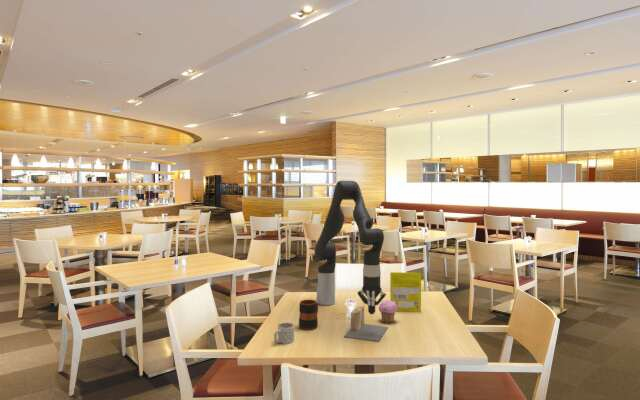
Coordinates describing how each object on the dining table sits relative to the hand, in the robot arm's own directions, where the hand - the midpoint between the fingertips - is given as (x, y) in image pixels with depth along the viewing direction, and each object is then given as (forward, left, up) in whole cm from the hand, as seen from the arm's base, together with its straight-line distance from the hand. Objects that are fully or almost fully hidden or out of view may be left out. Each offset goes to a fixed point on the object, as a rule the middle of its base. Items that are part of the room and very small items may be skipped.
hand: (371, 313), depth 188 cm
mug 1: (-32, -23, -9) cm, 40 cm away
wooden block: (-8, -1, -4) cm, 9 cm away
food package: (+8, +36, -9) cm, 38 cm away
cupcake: (+3, +18, -9) cm, 20 cm away
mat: (-2, 0, -9) cm, 9 cm away
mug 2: (-29, -1, -9) cm, 30 cm away
